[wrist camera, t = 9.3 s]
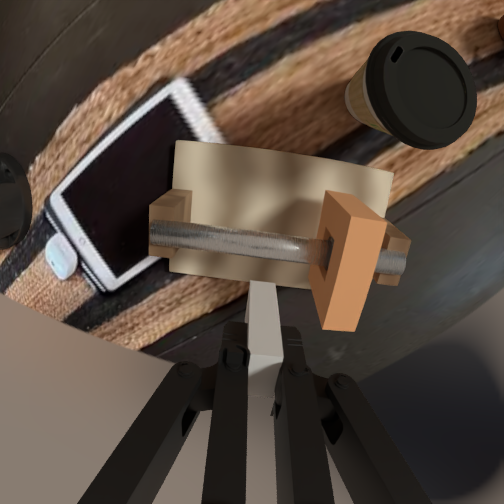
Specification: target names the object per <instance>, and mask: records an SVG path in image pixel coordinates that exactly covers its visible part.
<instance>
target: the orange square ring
mask: <svg viewBox="0 0 504 504" xmlns="http://www.w3.org/2000/svg"><path fill="white" fill-rule="evenodd" d="M386 226H387V222H386V221H385V220H384V219H383V218H381V217H380V216H379V215H378V214H376V213H375V212H374V211H373V210H372V209H370V208H369V207H368V206H367V205H365V204H364V203H363V202H361V201H360V200H359V199H358V198H356V197H355V196H354V195H352V194H347V193H341V192H335V191H330V190H325V195H324V200H323V206H322V211H321V216H320V222H319V227H318V232H317V237H316V239H322V240H328V238H329V237H330V236H332V237H333V239H334V245H333V249H332V253H331V258H330V262H329V266H328V270H327V271H326V270H325V268H324V266H319V265H310V270H309V274H308V279H309V282H310V286H311V289H312V293H313V297H314V300H315V304H316V308H317V311H318V315H319V319H320V322H321V326H322V329H325V330H338V331H353V332H355V329H356V326H357V323H358V320H359V318H360V315H361V312H362V309H363V306H364V303H365V300H366V296H367V293H368V290H369V287H370V284H371V280H372V277H373V274H374V270H375V267H376V264H377V260H378V256H379V253H380V249H381V246H382V242H383V238H384V234H385V230H386Z"/></svg>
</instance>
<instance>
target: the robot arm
mask: <svg viewBox="0 0 504 504" xmlns="http://www.w3.org/2000/svg"><path fill="white" fill-rule="evenodd" d="M31 218H32V196H31V190H30V186H29V183H28V180H27V177H26V175H25V172H24V170H23V169H22V167H21V166H20V164H19V163H18V162H17V161H16V160H15V159H14V158H13V157H12V156H10V155H9V154H6V153H2V152H0V250H3V249H7V248H10V247H12V246H13V245H15V244H17V243H18V242H20V241H21V240H22V239H23V238H24V237H25V235H26V234H27V232H28V229H29V227H30V223H31ZM274 392H275V401H274V404H273V408H272V411H271V416H273V414H274V435H275V457H276V481H277V504H335V503H334V496H333V489H332V483H331V477H330V470H329V464H328V458H327V452H326V446H327V449H328V451H329V453H330V455H331V457H332V459H333V461H334V463H335V466H336V468H337V470H338V472H339V474H340V476H341V478H342V480H343V482H344V484H345V486H346V488H347V490H348V492H349V494H350V496H351V498H352V501H353V503H354V504H432V502H431V501H430V499H429V498H428V496H427V494H426V493H425V491H424V490H423V488H422V486H421V485H420V483H419V482H418V480H417V479H416V477H415V475H414V473H413V472H412V470H411V469H410V467H409V465H408V464H407V462H406V461H405V459H404V458H403V456H402V454H401V453H400V451H399V450H398V448H397V446H396V445H395V443H394V442H393V440H392V439H391V437H390V435H389V434H388V432H387V431H386V429H385V428H384V426H383V425H382V423H381V421H380V420H379V418H378V417H377V415H376V414H375V412H374V410H373V409H372V407H371V406H370V404H369V403H368V401H367V399H366V398H365V397H364V395H363V393H362V392H361V390H360V389H359V387H358V385H357V384H356V382H355V381H354V380H353V379H352V378H351V377H350V376H348V375H346V374H342V373H336V374H333V375H331V376H330V377H329V379H328V378H324V377H320V376H318V375H315V374H314V373H312V371H311V369H310V368H309V367H308V366H307V365H306V361H305V355H304V350H303V346H302V341H301V334H300V332H299V331H298V330H297V328H296V327H290V326H280V320H279V311H278V302H277V294H276V285H275V283H270V282H261V281H252V280H250V286H249V293H248V300H247V308H246V315H245V323H242V322H233V321H228V323H227V324H226V325H225V326H224V330H223V337H222V345H221V348H220V351H219V361H218V362H217V363H216V364H215V365H213V366H211V367H207V368H199V366H198V365H196V364H194V363H192V362H187V361H185V362H179V363H176V364H175V365H174V366H172V368H171V369H170V371H169V372H168V373H167V375H166V376H165V378H164V379H163V381H162V382H161V384H160V385H159V387H158V388H157V389H156V391H155V392H154V394H153V395H152V397H151V398H150V399H149V401H148V402H147V404H146V405H145V407H144V408H143V409H142V411H141V412H140V414H139V415H138V417H137V418H136V420H135V421H134V422H133V424H132V425H131V427H130V428H129V430H128V431H127V432H126V434H125V435H124V437H123V438H122V440H121V441H120V443H119V444H118V445H117V447H116V449H115V450H114V451H113V453H112V454H111V456H110V457H109V458H108V460H107V461H106V463H105V464H104V466H103V467H102V469H101V470H100V471H99V473H98V474H97V476H96V477H95V479H94V480H93V482H92V483H91V484H90V486H89V487H88V489H87V490H86V492H85V493H84V495H83V496H82V497H81V499H80V500H79V502H78V503H77V504H152V502H153V500H154V499H155V497H156V495H157V493H158V491H159V489H160V488H161V486H162V484H163V482H164V480H165V478H166V476H167V475H168V473H169V471H170V469H171V467H172V465H173V463H174V461H175V459H176V457H177V456H178V454H179V452H180V450H181V448H182V446H183V444H184V442H185V440H186V439H187V437H188V435H189V432H190V431H191V429H192V427H193V425H194V423H195V421H196V419H197V417H198V415H199V413H200V411H205V410H212V417H211V426H210V433H209V442H208V449H207V458H206V466H205V475H204V484H203V493H202V502H201V504H245V501H246V456H247V454H246V453H247V452H246V451H247V410H248V396H255V397H270V398H273V396H274ZM325 445H326V446H325Z"/></svg>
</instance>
